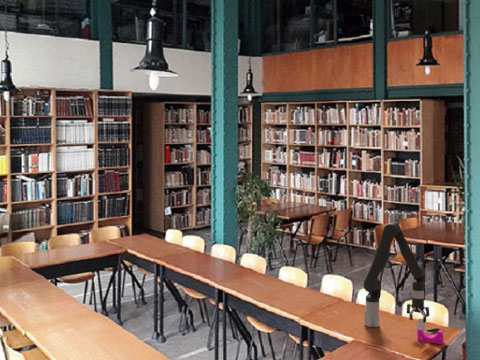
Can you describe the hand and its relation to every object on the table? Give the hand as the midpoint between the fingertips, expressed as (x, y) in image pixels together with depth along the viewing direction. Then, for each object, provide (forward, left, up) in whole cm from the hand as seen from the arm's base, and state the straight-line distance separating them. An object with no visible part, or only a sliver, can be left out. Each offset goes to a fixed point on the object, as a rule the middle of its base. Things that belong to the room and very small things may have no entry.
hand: (417, 321), depth 356 cm
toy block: (+9, -1, -11) cm, 14 cm away
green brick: (0, +6, -4) cm, 7 cm away
